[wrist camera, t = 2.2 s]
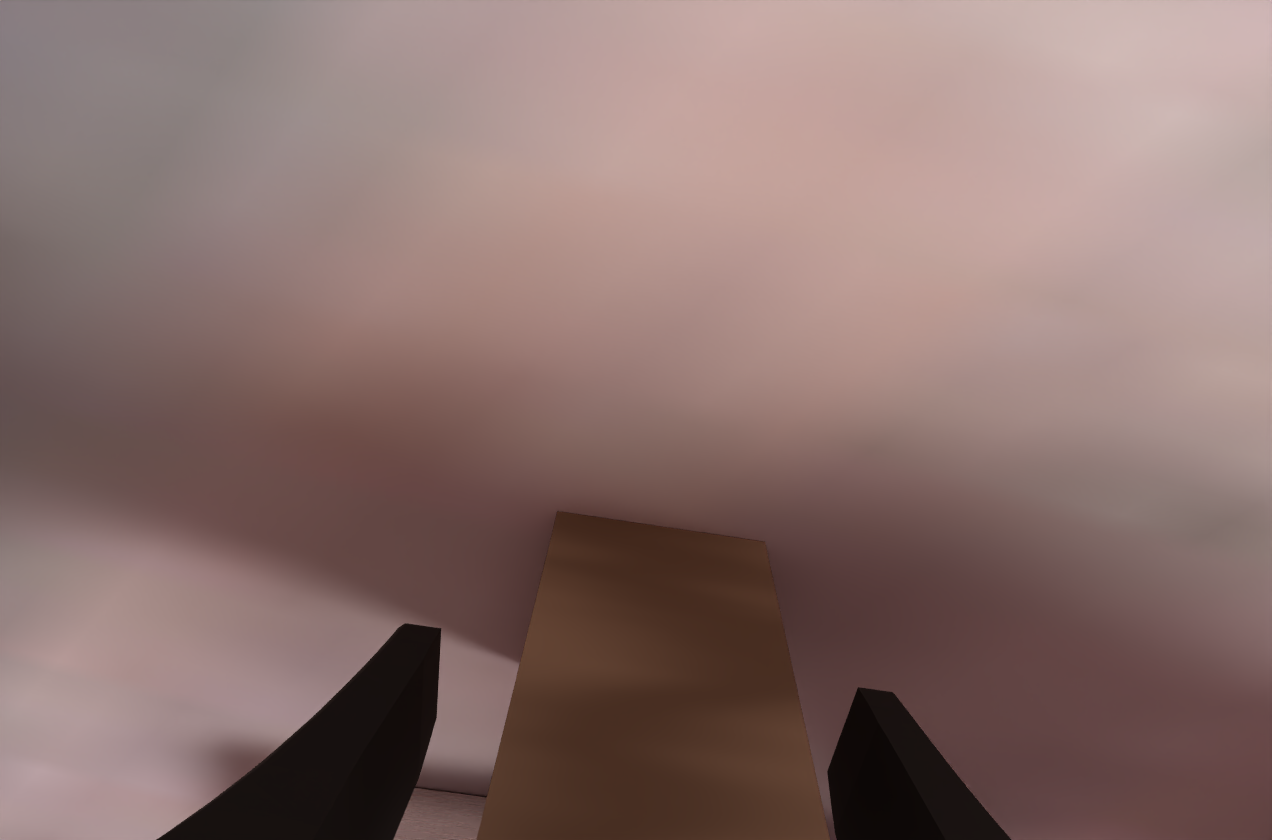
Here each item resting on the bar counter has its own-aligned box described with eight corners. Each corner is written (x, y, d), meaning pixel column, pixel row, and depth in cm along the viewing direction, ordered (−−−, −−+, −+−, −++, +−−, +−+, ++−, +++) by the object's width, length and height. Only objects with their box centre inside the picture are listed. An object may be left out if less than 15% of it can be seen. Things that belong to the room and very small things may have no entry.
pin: (764, 541, 14) (870, 1025, 7) (723, 697, 16) (773, 1217, 9) (557, 511, 14) (444, 971, 7) (537, 671, 16) (429, 1176, 8)
